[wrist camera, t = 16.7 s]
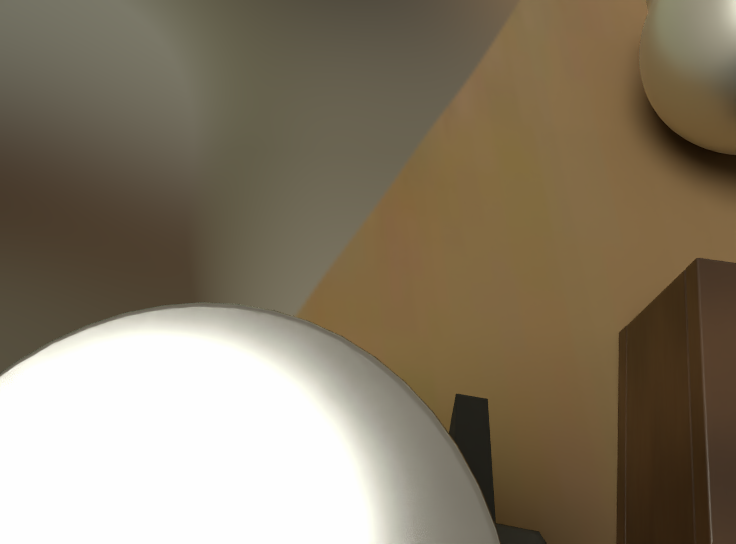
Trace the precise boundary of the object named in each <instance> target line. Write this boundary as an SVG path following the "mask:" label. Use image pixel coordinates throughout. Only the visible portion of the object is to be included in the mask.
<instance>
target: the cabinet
mask: <svg viewBox="0 0 736 544" xmlns="http://www.w3.org/2000/svg"><path fill="white" fill-rule="evenodd" d="M617 544H736V263H731V262H724V261H717V260H710V259H703V258H696V259H695V260H694V261H693V262H692V263H691V264H690V265H689V266H688V267H687V268H686V270H684V271H683V272H682V273H681V274H680V275H679V276H678V277H677V278H676V279H675V280H674V281H673V282H672V283H671V284H670V285H669V286H668V287H666V288H665V289H664V290H663V291H662V292H661V293H660V294H659V295H658V296H657V297H656V298H655V299H654V300H653V301H652V302H651V303H650V304H649V305H648V306H647V307H646V308H645V309H644V310H643V311H642V312H641V313H640V314H639V315H638V316H637V317H636V318H634V319H633V320H632V321H631V322H630V323H629V324H628V325H627V326H626V327H625V328H624V329H623V330H621V331H620V333H619V401H618V487H617Z"/></svg>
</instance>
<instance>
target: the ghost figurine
mask: <svg viewBox="0 0 736 544" xmlns="http://www.w3.org/2000/svg"><path fill="white" fill-rule="evenodd" d="M646 3H647V8H648V15H647V17H646V20H645V23H644V26H643V30H642V35H641V40H640V48H639V67H640V74H641V79H642V84H643V87H644V90H645V93H646V95H647V97H648V100H649V102H650V103H651V105H652V107H653V109H654V110H655V112H656V113H657V114H658V116H659V117H660V118H661V119H662V120H663V122H664V123H665V124H666V125H667V126H668V127H669V128H671V129H672V130H673V131H674V132H675V133H677V134H678V135H680V136H681V137H683V138H684V139H686V140H687V141H689V142H691V143H693V144H695V145H698V146H700V147H702V148H705V149H708V150H711V151H715V152H719V153H724V154H730V155H736V0H646Z"/></svg>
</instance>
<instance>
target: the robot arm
mask: <svg viewBox="0 0 736 544" xmlns="http://www.w3.org/2000/svg"><path fill="white" fill-rule="evenodd" d="M449 434H450V436H451V437H452V438H453V440H454V441H455V443H456V444H457V445H458V447H459V449H460V451H461V452H462V454H463V456H464V458H465V460H466V462H467V463H468V465H469V467H470V469H471V471H472V473H473V474H474V476H475V478H476V480H477V482H478V483H479V485H480V488H481V490H482V493H483V495H484V498H485V500H486V503H487V505H488V508H489V510H490V513H491V515H492V518H493V520H494V523H495V525H496V528H497V531H498V534H499V538H500V542H501V544H546V542H545V540H544V539H543V537H542V536H541V534H540V533H539V532H538V531H533V530H528V529H523V528H518V527H512V526H507V525H502V524H497V523H496V522H495V506H494V490H493V475H492V459H491V444H490V428H489V413H488V399H484V398H479V397H473V396H467V395H461V394H456V397H455V402H454V408H453V413H452V419H451V424H450V430H449Z"/></svg>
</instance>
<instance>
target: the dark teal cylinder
mask: <svg viewBox="0 0 736 544" xmlns="http://www.w3.org/2000/svg"><path fill="white" fill-rule="evenodd" d="M0 544H501V542H500V538H499V534H498V531H497V528H496V525H495V523H494V520H493V518H492V515H491V513H490V510H489V508H488V505H487V503H486V500H485V498H484V495H483V493H482V490H481V488H480V485H479V483H478V482H477V480H476V478H475V476H474V474H473V473H472V471H471V469H470V467H469V465H468V463H467V462H466V460H465V458H464V456H463V454H462V452H461V451H460V449H459V447H458V445H457V444H456V443H455V441H454V440H453V438H452V437H451V436H450V434H449V433H448V432H447V430H446V429H445V427H444V426H443V425H442V423H441V422H440V420H439V419H438V418H437V416H436V415H435V413H434V412H433V411H432V410H431V409H430V408H429V407H428V406H427V404H426V403H425V402H424V401H423V400H422V399H421V398H420V397H419V396H418V395H417V394H416V393H415V392H414V391H413V389H412V388H411V387H410V386H409V385H408V384H407V383H406V382H405V381H404V380H403V379H401V378H400V377H399V376H398V375H396V374H395V373H394V372H393V371H392V370H390V369H389V368H388V367H387V366H386V365H384V364H383V363H382V362H381V361H380V360H378V359H377V358H376V357H375V356H373V355H371V354H370V353H368V352H367V351H365V350H363V349H362V348H360V347H359V346H357V345H355V344H354V343H352V342H351V341H349V340H348V339H346V338H344V337H343V336H340V335H338V334H336V333H334V332H332V331H330V330H327V329H325V328H323V327H321V326H319V325H317V324H314V323H312V322H310V321H307V320H304V319H301V318H297V317H294V316H291V315H287V314H284V313H281V312H278V311H275V310H269V309H263V308H258V307H252V306H246V305H240V304H224V303H223V304H222V303H187V304H175V305H162V306H158V307H152V308H147V309H142V310H137V311H132V312H127V313H123V314H120V315H117V316H114V317H111V318H108V319H105V320H101V321H98V322H95V323H92V324H89V325H86V326H84V327H82V328H80V329H77V330H75V331H73V332H71V333H68V334H66V335H64V336H61V337H60V338H57V339H55V340H52V341H51V342H49V343H47V344H45V345H44V346H42V347H40V348H38V349H37V350H35V351H33V352H32V353H30V354H28V355H26V356H25V357H23V358H21V359H19V360H18V361H16V362H14V363H13V364H12V365H10V366H9V367H8V368H6V369H5V370H3V371H2V372H1V373H0Z"/></svg>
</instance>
